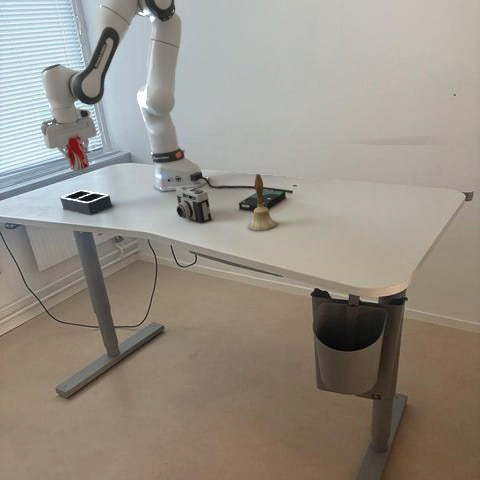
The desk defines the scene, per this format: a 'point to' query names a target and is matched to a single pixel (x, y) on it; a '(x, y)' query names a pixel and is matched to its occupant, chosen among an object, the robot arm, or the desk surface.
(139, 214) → the desk surface
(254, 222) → the hand bell
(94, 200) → the open box
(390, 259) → the desk surface
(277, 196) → the disk drive
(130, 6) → the robot arm
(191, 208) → the camera
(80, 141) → the soda can
